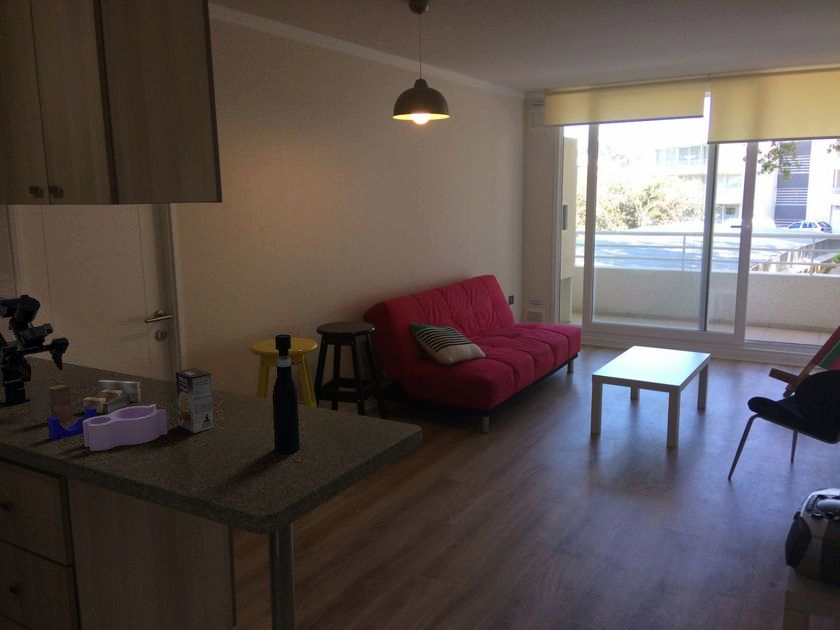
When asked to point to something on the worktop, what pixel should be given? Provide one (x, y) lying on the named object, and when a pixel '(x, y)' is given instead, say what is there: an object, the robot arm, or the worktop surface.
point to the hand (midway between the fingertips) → (45, 373)
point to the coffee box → (194, 399)
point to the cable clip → (59, 432)
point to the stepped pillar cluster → (113, 395)
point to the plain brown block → (60, 403)
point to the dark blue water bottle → (285, 401)
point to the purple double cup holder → (125, 427)
